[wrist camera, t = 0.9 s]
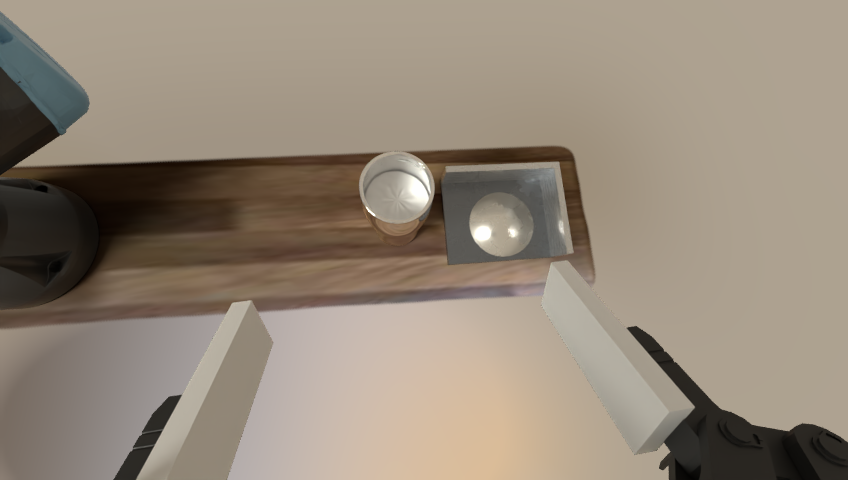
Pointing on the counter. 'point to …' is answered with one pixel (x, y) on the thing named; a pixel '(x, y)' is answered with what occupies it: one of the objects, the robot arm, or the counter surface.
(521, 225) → the tray
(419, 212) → the beer glass
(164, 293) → the counter surface
